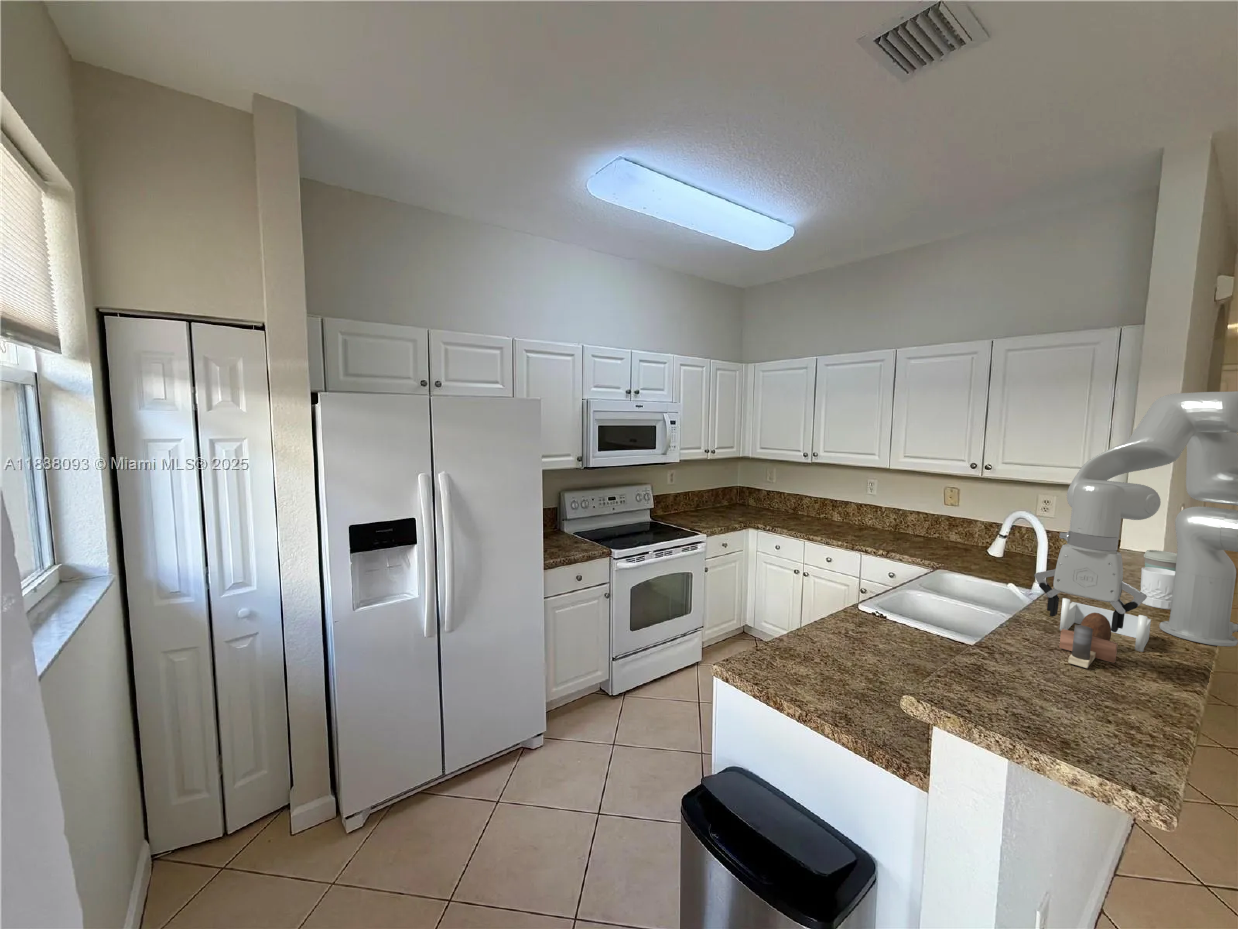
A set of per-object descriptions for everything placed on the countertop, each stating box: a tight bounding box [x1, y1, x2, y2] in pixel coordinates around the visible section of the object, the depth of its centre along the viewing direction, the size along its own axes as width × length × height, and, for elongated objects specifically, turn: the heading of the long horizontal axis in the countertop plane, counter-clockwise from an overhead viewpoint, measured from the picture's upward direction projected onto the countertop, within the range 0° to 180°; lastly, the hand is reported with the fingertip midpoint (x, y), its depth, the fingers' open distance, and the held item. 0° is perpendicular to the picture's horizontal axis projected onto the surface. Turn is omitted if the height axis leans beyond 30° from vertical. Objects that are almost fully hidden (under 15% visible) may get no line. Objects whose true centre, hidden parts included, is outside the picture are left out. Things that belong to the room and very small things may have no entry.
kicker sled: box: [1058, 624, 1118, 669], centre depth 109 cm, size 10×9×8 cm
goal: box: [1059, 597, 1152, 653], centre depth 123 cm, size 11×15×8 cm
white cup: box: [1140, 566, 1175, 610], centre depth 144 cm, size 8×8×10 cm
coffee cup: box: [1143, 549, 1177, 571], centre depth 158 cm, size 8×8×12 cm
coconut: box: [1080, 613, 1112, 641], centre depth 116 cm, size 5×5×8 cm
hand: (1082, 622), depth 106 cm, fingers open, 9 cm apart
